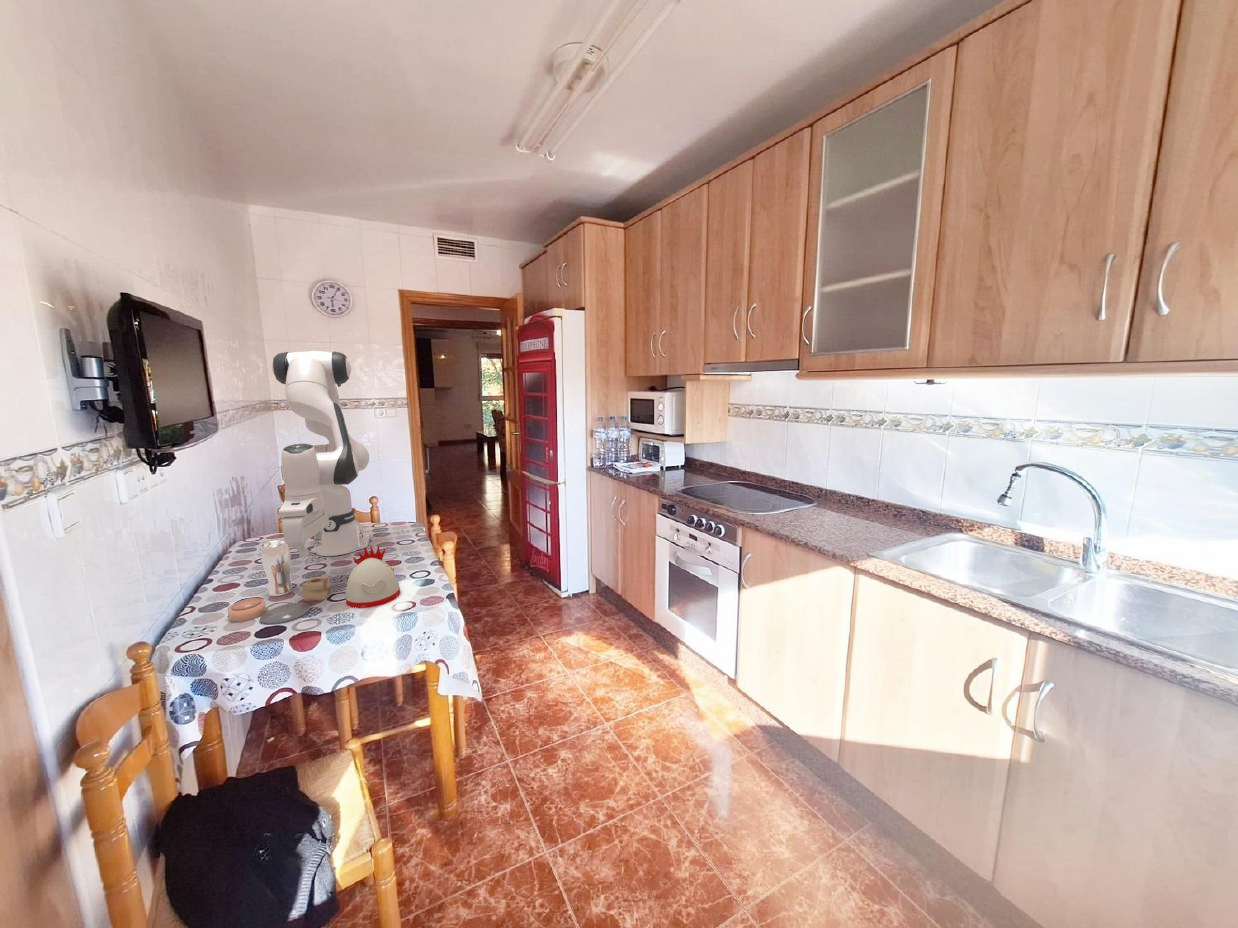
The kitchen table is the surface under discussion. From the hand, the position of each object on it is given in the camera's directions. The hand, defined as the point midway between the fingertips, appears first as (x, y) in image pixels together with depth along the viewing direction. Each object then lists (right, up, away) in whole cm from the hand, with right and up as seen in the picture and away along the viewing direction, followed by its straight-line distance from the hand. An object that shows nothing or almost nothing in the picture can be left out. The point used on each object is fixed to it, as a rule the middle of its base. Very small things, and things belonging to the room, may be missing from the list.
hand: (311, 550), depth 138 cm
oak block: (0, -14, +3) cm, 14 cm away
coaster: (-2, -15, -8) cm, 17 cm away
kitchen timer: (+17, -14, +2) cm, 22 cm away
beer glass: (-13, -13, +6) cm, 20 cm away
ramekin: (-12, -16, -8) cm, 21 cm away
